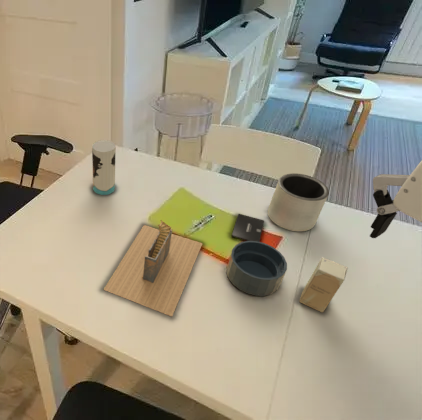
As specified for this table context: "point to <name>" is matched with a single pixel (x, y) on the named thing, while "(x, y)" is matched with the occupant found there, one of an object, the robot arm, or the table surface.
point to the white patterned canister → (103, 167)
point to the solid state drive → (248, 228)
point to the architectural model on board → (155, 269)
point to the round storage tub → (256, 268)
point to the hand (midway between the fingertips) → (411, 254)
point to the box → (323, 284)
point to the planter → (297, 202)
